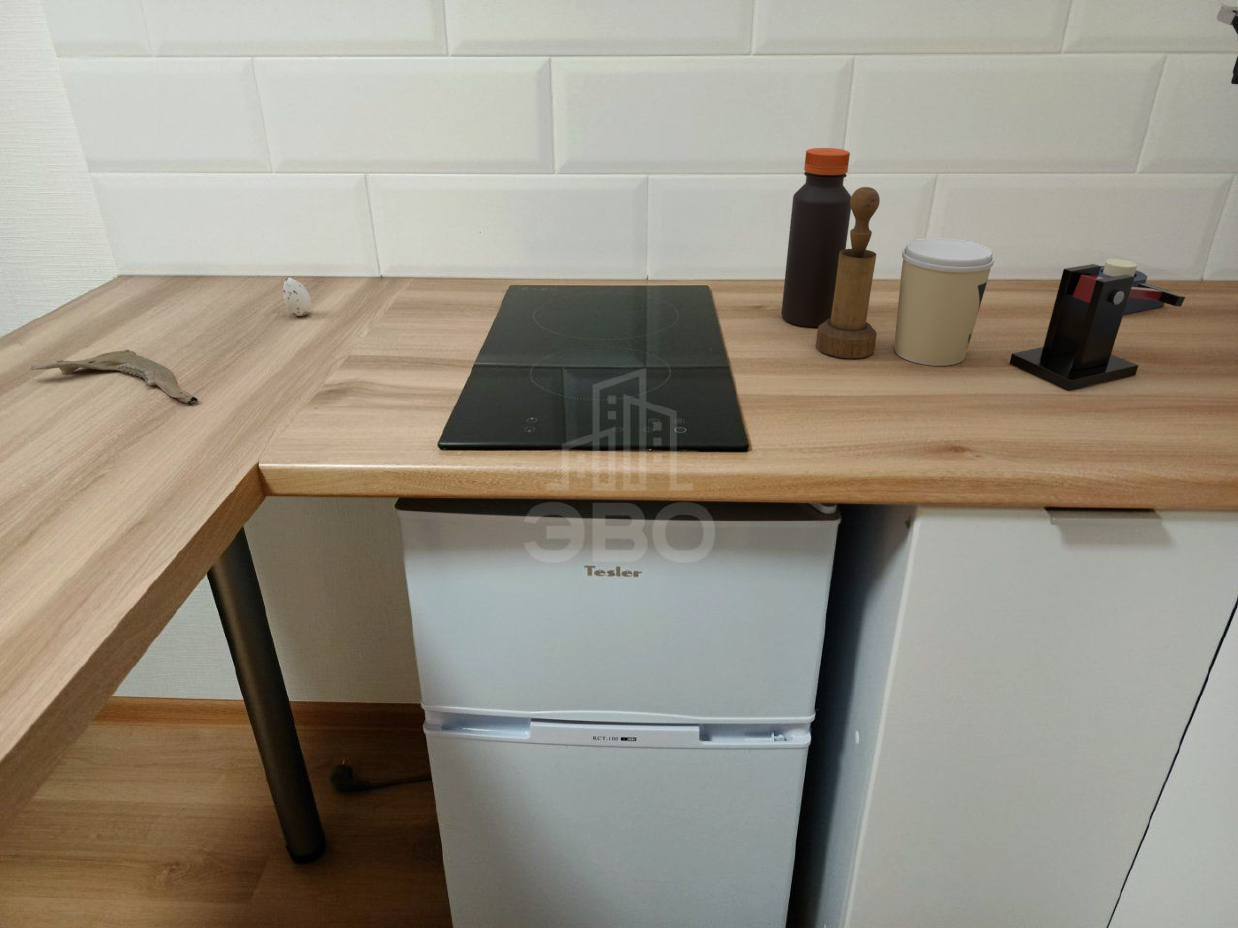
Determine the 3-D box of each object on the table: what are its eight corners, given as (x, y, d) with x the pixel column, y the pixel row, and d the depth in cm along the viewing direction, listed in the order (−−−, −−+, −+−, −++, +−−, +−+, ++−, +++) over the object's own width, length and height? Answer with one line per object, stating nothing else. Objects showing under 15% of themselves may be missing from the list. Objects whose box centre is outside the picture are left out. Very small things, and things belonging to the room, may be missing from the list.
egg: (314, 318, 108) (307, 279, 105) (287, 321, 107) (280, 282, 104) (312, 310, 110) (305, 272, 108) (286, 313, 109) (278, 274, 107)
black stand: (1074, 349, 99) (1100, 257, 93) (1135, 375, 92) (1167, 277, 87) (1008, 363, 95) (1032, 268, 90) (1068, 391, 89) (1097, 290, 84)
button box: (1110, 289, 118) (1118, 260, 116) (1163, 306, 112) (1173, 276, 110) (1057, 298, 115) (1065, 269, 113) (1109, 317, 108) (1118, 286, 106)
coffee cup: (986, 368, 94) (1011, 260, 88) (902, 370, 94) (922, 261, 88) (953, 337, 102) (973, 236, 96) (875, 338, 102) (891, 237, 96)
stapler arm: (1137, 299, 97) (1146, 278, 96) (1178, 312, 93) (1188, 291, 92) (1061, 293, 91) (1069, 270, 90) (1101, 307, 87) (1110, 284, 86)
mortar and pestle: (881, 345, 100) (906, 186, 91) (864, 363, 95) (890, 197, 86) (825, 334, 103) (845, 179, 94) (807, 352, 98) (826, 190, 89)
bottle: (812, 332, 103) (834, 159, 94) (769, 317, 108) (785, 150, 98) (847, 319, 107) (870, 152, 97) (804, 306, 112) (822, 144, 102)
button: (1115, 270, 113) (1119, 257, 113) (1139, 278, 111) (1143, 264, 110) (1096, 274, 112) (1099, 260, 111) (1120, 281, 109) (1124, 268, 108)
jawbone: (102, 357, 98) (98, 340, 97) (254, 382, 93) (251, 363, 92) (32, 382, 90) (27, 364, 90) (194, 410, 85) (190, 391, 84)
